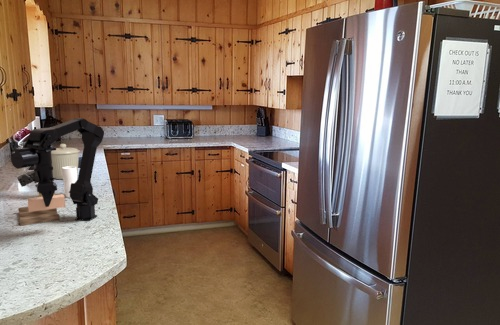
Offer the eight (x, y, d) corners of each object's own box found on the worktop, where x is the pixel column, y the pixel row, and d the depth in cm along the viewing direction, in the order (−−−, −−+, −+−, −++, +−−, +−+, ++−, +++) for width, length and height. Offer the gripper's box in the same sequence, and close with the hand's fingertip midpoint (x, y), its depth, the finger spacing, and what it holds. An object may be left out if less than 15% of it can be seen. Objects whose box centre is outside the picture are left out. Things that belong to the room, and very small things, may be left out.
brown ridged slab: (54, 208, 175) (54, 203, 174) (59, 220, 159) (59, 214, 159) (18, 213, 167) (18, 207, 167) (20, 225, 152) (19, 219, 152)
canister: (73, 181, 227) (70, 146, 223) (42, 180, 227) (39, 145, 223) (86, 175, 245) (84, 142, 241) (58, 174, 245) (55, 141, 241)
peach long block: (64, 204, 148) (63, 194, 148) (65, 206, 145) (64, 196, 144) (28, 208, 142) (27, 198, 141) (28, 211, 139) (27, 200, 138)
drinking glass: (62, 198, 191) (60, 168, 188) (65, 195, 197) (63, 166, 195) (77, 197, 193) (75, 168, 190) (79, 194, 199) (77, 165, 196)
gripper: (16, 161, 144) (20, 201, 147) (18, 170, 129) (22, 215, 131) (50, 159, 150) (53, 198, 153) (55, 167, 134) (58, 210, 137)
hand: (46, 205), depth 143 cm, fingers closed on peach long block, 4 cm apart
